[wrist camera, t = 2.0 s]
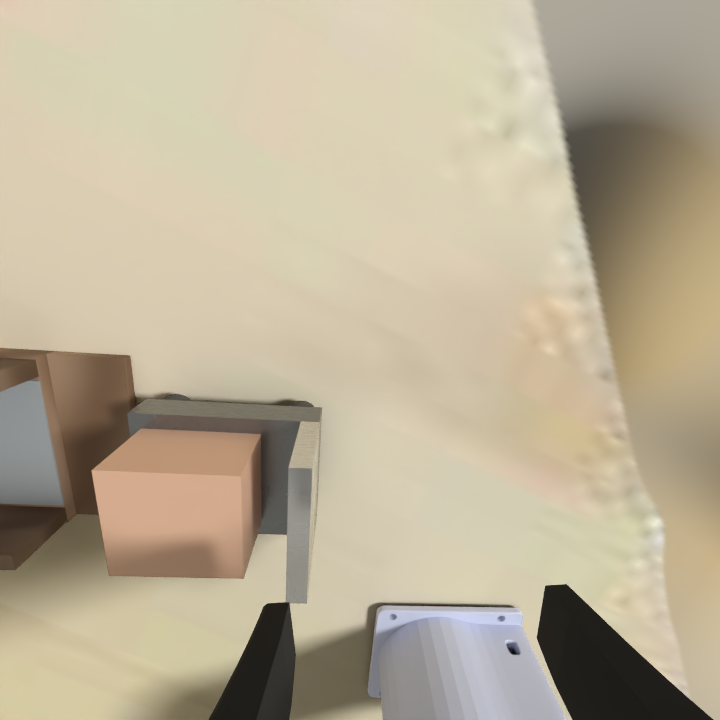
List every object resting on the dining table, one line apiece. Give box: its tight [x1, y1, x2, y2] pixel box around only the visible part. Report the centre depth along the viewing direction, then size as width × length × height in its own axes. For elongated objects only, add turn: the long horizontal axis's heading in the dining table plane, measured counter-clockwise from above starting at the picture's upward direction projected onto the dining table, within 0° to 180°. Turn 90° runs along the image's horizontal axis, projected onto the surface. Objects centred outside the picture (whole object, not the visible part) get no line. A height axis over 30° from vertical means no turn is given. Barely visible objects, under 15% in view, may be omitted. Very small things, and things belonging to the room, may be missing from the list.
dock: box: [0, 348, 136, 570], centre depth 16 cm, size 8×9×4 cm
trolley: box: [91, 394, 322, 603], centre depth 15 cm, size 8×6×6 cm
